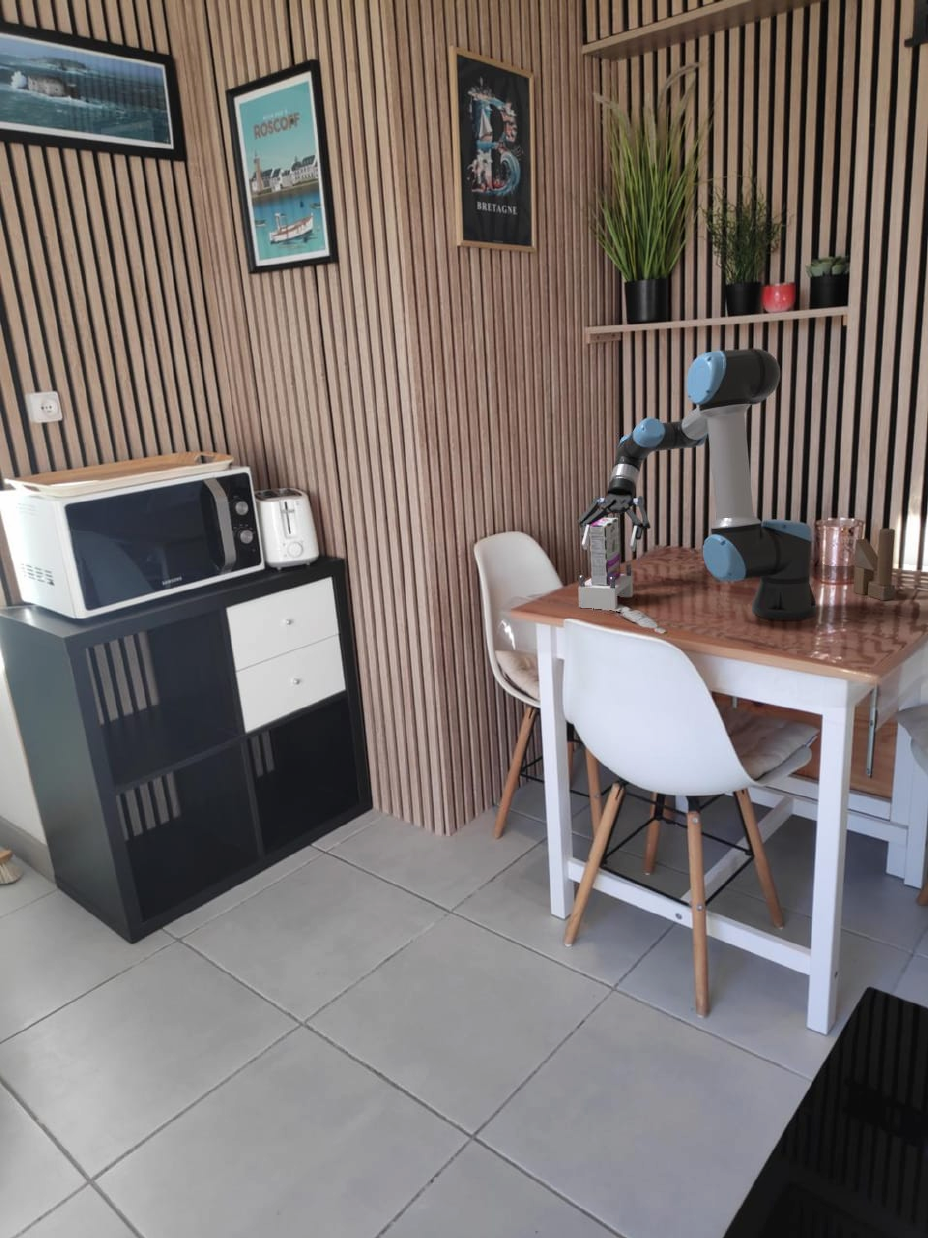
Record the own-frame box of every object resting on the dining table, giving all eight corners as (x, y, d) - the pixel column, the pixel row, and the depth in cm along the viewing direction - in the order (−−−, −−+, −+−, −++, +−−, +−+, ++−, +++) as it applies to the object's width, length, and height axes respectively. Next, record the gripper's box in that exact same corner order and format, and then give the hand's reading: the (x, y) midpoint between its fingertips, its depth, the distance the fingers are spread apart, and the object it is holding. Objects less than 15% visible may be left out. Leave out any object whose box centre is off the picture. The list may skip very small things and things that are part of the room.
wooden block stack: (863, 590, 241) (867, 523, 236) (894, 599, 231) (899, 529, 227) (852, 592, 240) (855, 525, 235) (883, 601, 230) (887, 531, 225)
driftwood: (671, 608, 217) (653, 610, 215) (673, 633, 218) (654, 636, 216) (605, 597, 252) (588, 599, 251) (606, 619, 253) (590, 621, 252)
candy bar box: (603, 575, 252) (601, 517, 247) (620, 576, 249) (619, 517, 245) (589, 585, 242) (588, 524, 238) (607, 586, 240) (606, 525, 235)
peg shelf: (632, 595, 252) (632, 564, 250) (615, 610, 239) (614, 577, 236) (598, 593, 257) (597, 562, 254) (579, 608, 243) (577, 575, 241)
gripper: (669, 492, 253) (655, 556, 244) (584, 492, 264) (568, 553, 255) (664, 476, 247) (650, 541, 238) (577, 476, 258) (561, 539, 249)
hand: (607, 548), depth 247 cm, fingers open, 13 cm apart
